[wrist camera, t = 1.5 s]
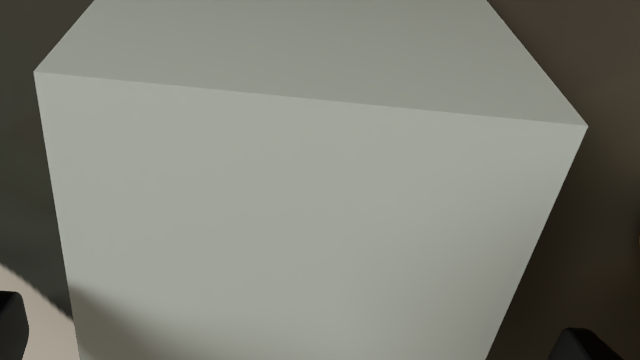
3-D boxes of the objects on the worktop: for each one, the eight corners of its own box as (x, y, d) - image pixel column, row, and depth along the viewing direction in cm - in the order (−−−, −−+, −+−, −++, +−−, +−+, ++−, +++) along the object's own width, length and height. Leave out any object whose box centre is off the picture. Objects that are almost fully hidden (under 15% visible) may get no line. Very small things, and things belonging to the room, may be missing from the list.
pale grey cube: (454, -40, 16) (588, 125, 9) (397, 192, 20) (453, 432, 13) (159, -77, 15) (33, 71, 8) (165, 174, 19) (89, 416, 12)
